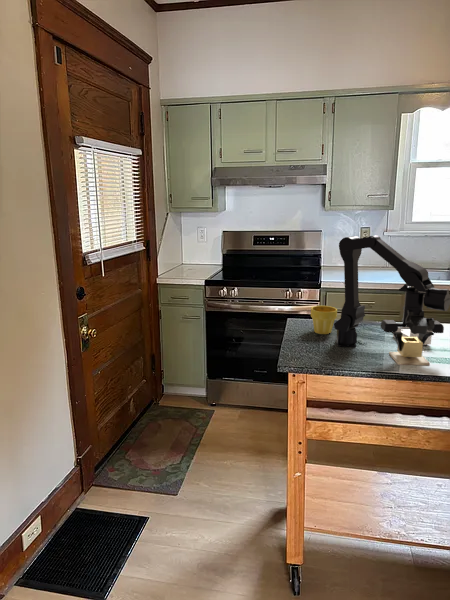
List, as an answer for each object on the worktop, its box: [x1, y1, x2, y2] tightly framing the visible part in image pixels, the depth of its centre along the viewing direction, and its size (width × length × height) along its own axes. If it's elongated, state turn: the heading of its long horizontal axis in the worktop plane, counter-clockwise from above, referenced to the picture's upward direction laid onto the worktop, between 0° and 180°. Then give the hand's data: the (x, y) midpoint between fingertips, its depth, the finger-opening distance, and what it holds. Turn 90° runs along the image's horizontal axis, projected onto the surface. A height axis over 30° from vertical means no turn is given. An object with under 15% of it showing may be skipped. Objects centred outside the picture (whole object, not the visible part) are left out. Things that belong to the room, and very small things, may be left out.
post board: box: [388, 351, 431, 366], centre depth 151 cm, size 10×10×6 cm
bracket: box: [392, 329, 433, 346], centre depth 169 cm, size 13×7×8 cm, turn 12°
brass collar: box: [396, 337, 424, 357], centre depth 150 cm, size 6×6×5 cm
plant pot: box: [310, 305, 338, 335], centre depth 181 cm, size 10×10×10 cm
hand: (409, 350), depth 151 cm, fingers closed on brass collar, 6 cm apart
